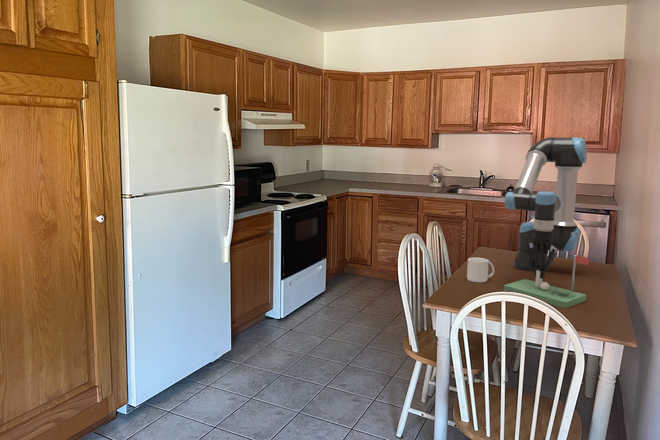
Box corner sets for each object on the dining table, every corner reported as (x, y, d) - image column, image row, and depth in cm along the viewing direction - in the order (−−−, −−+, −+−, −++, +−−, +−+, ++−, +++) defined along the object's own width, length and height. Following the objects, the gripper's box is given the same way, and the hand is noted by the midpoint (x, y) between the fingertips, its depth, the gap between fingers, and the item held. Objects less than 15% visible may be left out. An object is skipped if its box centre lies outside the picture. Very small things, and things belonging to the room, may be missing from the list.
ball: (546, 284, 201) (544, 292, 202) (551, 283, 203) (550, 290, 204) (539, 281, 204) (537, 288, 205) (544, 279, 206) (542, 287, 207)
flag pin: (569, 297, 203) (573, 254, 200) (570, 296, 204) (574, 254, 201) (584, 301, 199) (588, 257, 196) (585, 300, 199) (589, 257, 196)
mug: (467, 282, 224) (469, 261, 222) (465, 276, 232) (467, 257, 231) (495, 283, 222) (497, 263, 220) (492, 277, 230) (493, 258, 229)
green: (503, 290, 211) (503, 285, 210) (524, 284, 220) (524, 279, 220) (565, 308, 190) (566, 302, 189) (585, 300, 199) (586, 294, 199)
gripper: (523, 228, 205) (519, 283, 209) (553, 233, 195) (548, 290, 199) (533, 226, 210) (529, 280, 214) (563, 231, 199) (558, 287, 203)
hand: (538, 285), depth 206 cm, fingers closed
